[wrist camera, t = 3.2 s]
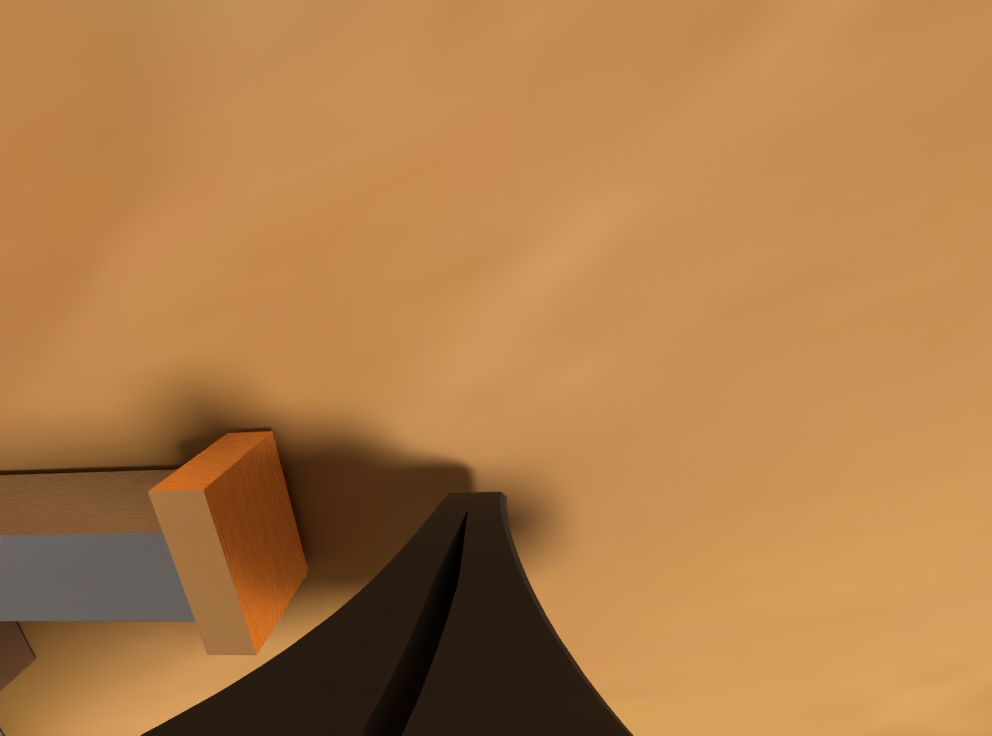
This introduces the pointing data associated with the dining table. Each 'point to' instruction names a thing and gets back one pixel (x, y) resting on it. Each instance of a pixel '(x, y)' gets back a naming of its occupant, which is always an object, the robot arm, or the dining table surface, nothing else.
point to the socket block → (12, 652)
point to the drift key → (157, 545)
